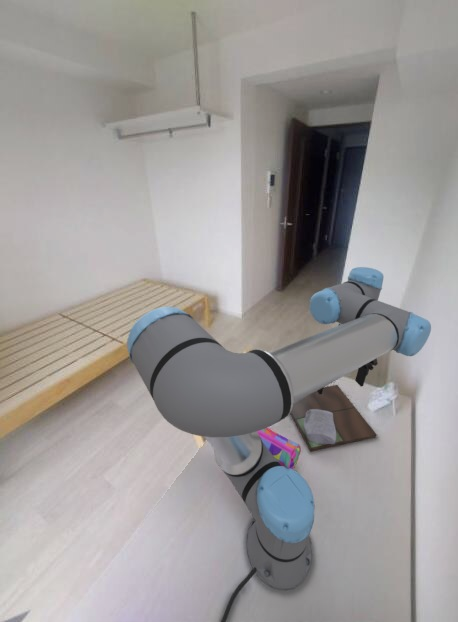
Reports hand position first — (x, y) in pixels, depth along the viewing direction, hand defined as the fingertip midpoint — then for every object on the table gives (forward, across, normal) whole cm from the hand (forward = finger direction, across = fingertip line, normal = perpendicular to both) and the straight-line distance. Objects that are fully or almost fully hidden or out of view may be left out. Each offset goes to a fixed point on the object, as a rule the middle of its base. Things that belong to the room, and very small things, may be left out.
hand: (339, 387), depth 81 cm
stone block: (+21, -2, +3) cm, 22 cm away
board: (+23, +4, +8) cm, 25 cm away
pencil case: (+23, -22, 0) cm, 32 cm away
